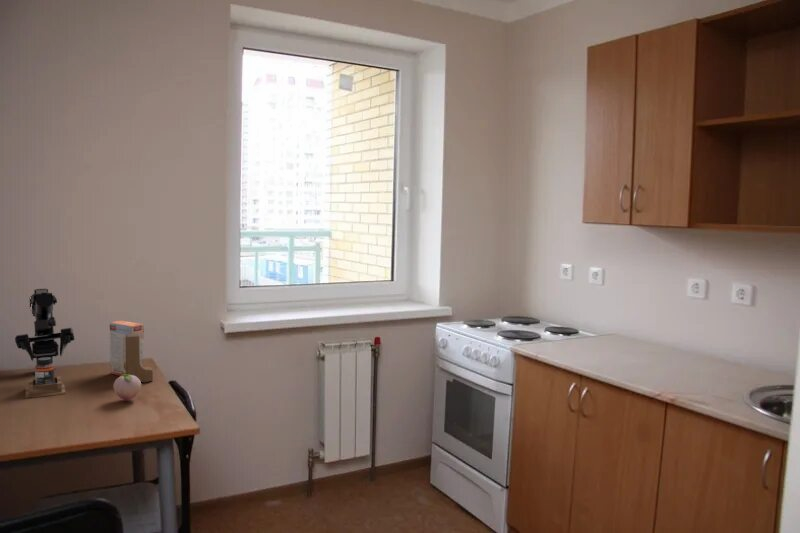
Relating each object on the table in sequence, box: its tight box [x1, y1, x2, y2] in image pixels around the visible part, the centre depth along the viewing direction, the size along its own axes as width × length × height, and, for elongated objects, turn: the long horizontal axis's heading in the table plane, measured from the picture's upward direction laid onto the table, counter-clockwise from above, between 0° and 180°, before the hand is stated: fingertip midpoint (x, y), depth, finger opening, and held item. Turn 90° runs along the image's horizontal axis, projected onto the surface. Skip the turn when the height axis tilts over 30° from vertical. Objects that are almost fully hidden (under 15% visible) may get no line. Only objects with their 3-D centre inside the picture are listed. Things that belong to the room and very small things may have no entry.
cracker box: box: [109, 320, 145, 377], centre depth 240 cm, size 14×6×21 cm, turn 58°
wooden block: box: [126, 334, 154, 383], centre depth 232 cm, size 9×4×18 cm, turn 118°
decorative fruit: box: [112, 372, 142, 402], centre depth 209 cm, size 9×8×10 cm
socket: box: [25, 376, 66, 399], centre depth 218 cm, size 12×12×4 cm
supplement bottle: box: [34, 357, 56, 385], centre depth 217 cm, size 6×6×11 cm
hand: (46, 357), depth 225 cm, fingers open, 9 cm apart
